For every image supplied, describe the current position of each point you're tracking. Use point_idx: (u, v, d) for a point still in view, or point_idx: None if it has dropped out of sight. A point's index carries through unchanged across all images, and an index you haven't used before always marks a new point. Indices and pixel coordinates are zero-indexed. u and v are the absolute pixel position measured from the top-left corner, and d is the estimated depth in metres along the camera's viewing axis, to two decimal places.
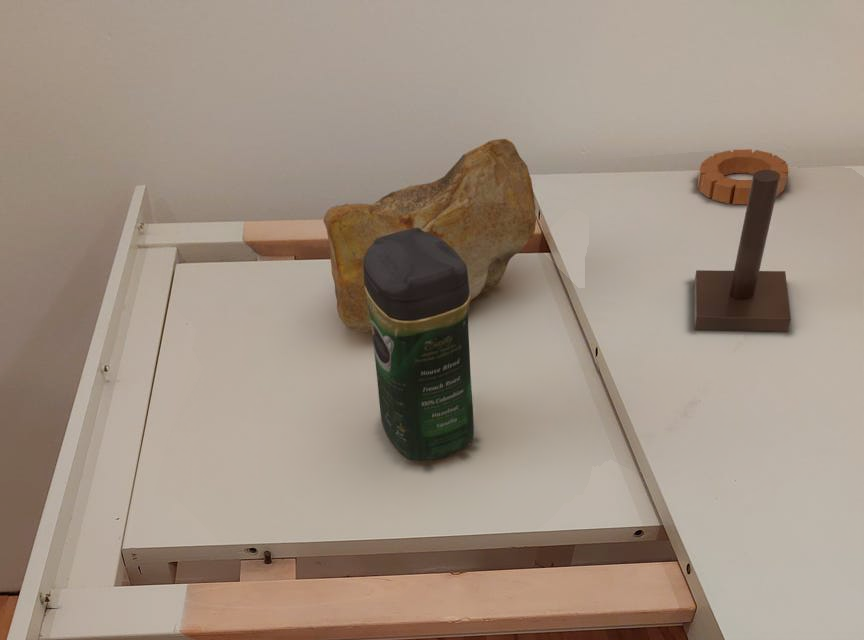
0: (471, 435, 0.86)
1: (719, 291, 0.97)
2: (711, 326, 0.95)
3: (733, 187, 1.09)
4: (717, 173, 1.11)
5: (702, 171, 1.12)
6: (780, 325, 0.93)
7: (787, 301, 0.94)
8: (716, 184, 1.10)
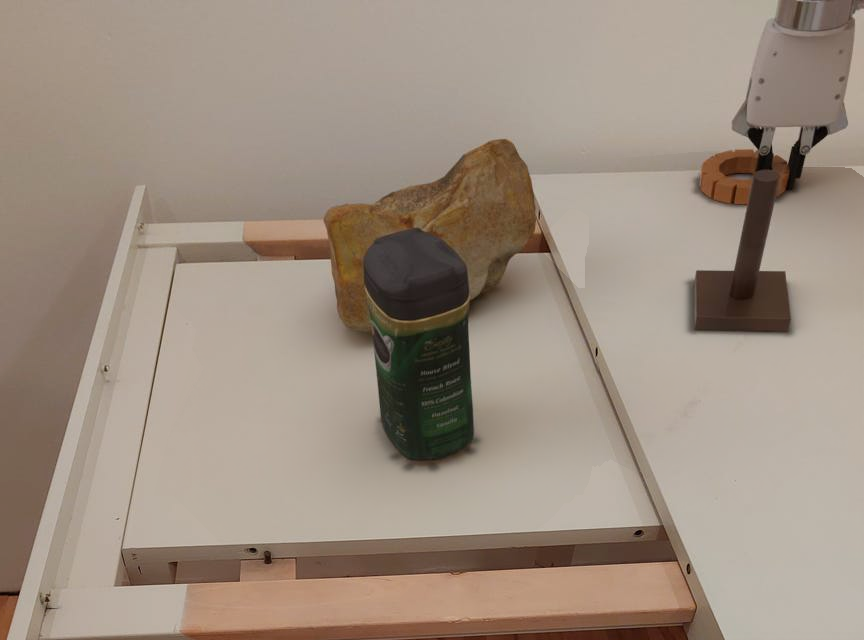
0: (471, 435, 0.86)
1: (719, 291, 0.97)
2: (711, 326, 0.95)
3: (734, 187, 1.09)
4: (718, 173, 1.11)
5: (704, 171, 1.12)
6: (780, 325, 0.93)
7: (787, 301, 0.94)
8: (717, 184, 1.10)
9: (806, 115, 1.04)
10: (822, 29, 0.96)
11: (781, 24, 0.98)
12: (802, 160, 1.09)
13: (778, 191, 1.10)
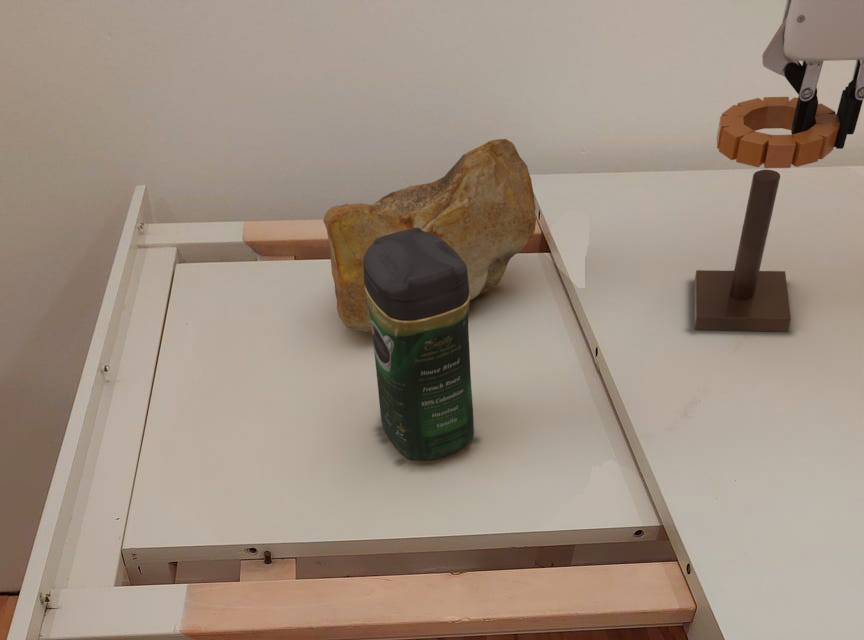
0: (471, 435, 0.86)
1: (719, 291, 0.97)
2: (711, 326, 0.95)
3: (765, 144, 0.81)
4: (743, 126, 0.83)
5: (723, 124, 0.83)
6: (780, 325, 0.93)
7: (787, 301, 0.94)
8: (742, 140, 0.81)
9: None
10: None
11: None
12: (857, 108, 0.80)
13: (824, 150, 0.81)
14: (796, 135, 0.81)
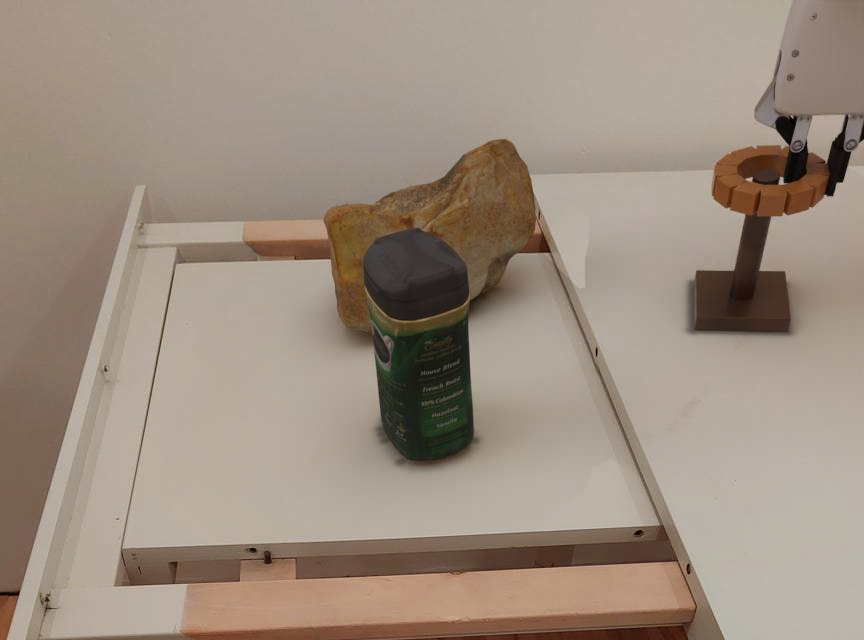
0: (471, 435, 0.86)
1: (719, 291, 0.97)
2: (711, 326, 0.95)
3: (758, 194, 0.84)
4: (737, 176, 0.86)
5: (717, 174, 0.87)
6: (780, 325, 0.93)
7: (787, 301, 0.94)
8: (736, 190, 0.85)
9: (854, 99, 0.79)
10: None
11: None
12: (846, 159, 0.84)
13: (815, 199, 0.84)
14: (787, 185, 0.84)
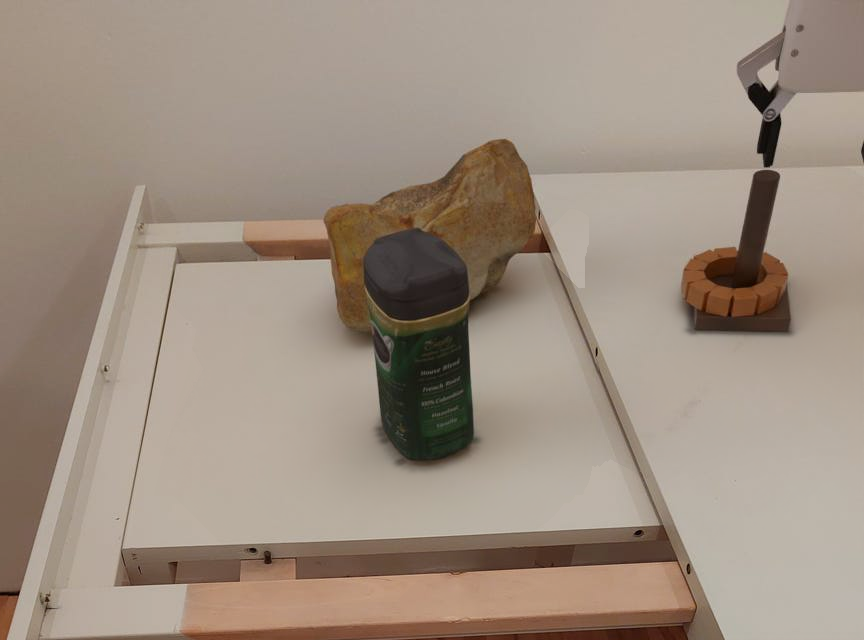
0: (471, 435, 0.86)
1: None
2: (711, 326, 0.95)
3: (731, 298, 0.92)
4: (707, 281, 0.94)
5: (689, 280, 0.95)
6: (780, 325, 0.93)
7: (787, 301, 0.94)
8: (710, 296, 0.93)
9: (859, 76, 0.77)
10: None
11: None
12: None
13: (779, 297, 0.94)
14: (755, 288, 0.93)
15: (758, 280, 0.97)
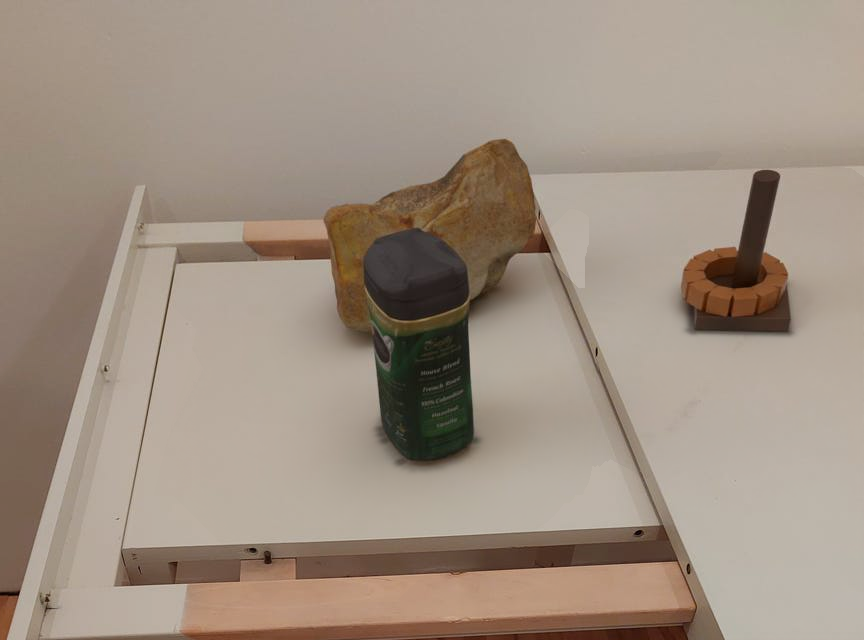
0: (471, 435, 0.86)
1: None
2: (711, 326, 0.95)
3: (731, 298, 0.92)
4: (707, 281, 0.94)
5: (689, 280, 0.95)
6: (780, 325, 0.93)
7: (787, 301, 0.94)
8: (710, 296, 0.93)
9: None
10: None
11: None
12: None
13: (779, 297, 0.94)
14: (755, 288, 0.93)
15: (758, 280, 0.97)
